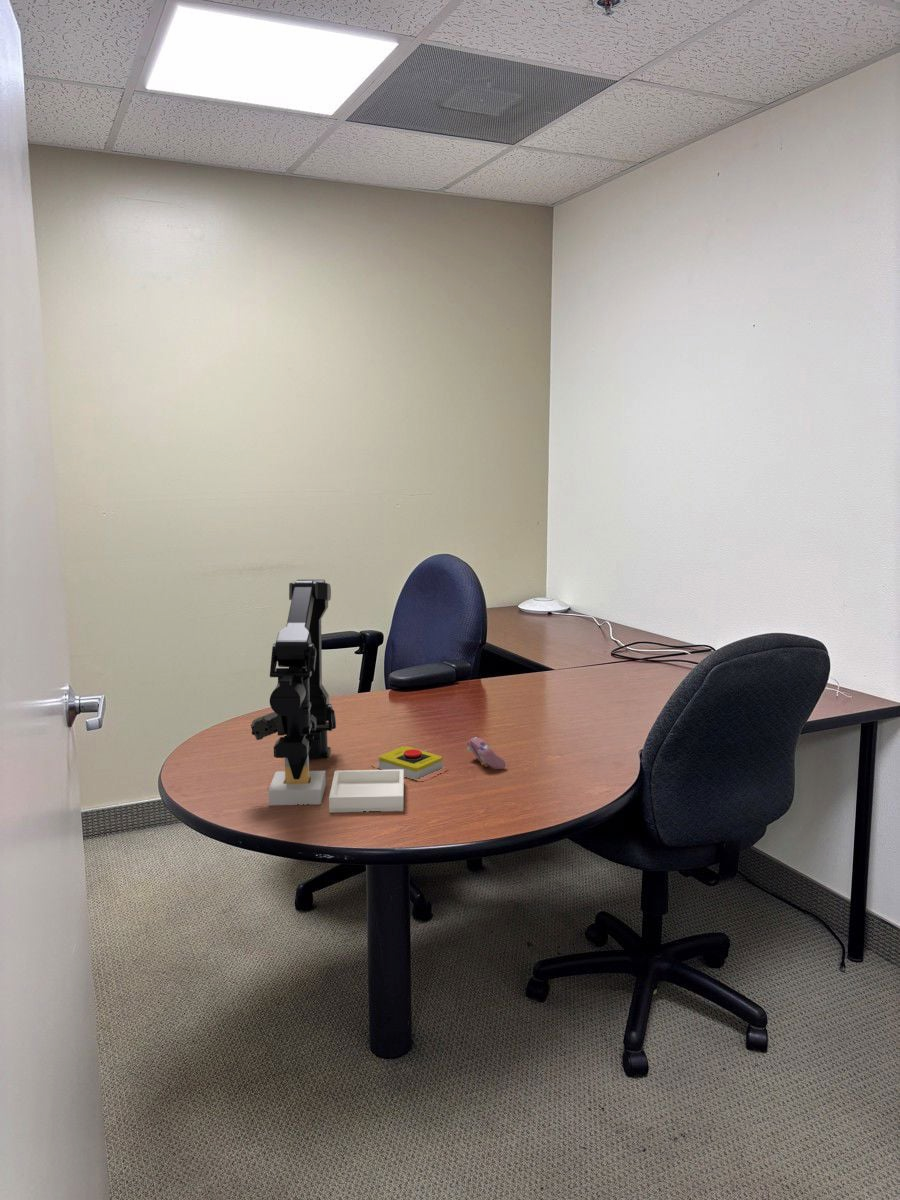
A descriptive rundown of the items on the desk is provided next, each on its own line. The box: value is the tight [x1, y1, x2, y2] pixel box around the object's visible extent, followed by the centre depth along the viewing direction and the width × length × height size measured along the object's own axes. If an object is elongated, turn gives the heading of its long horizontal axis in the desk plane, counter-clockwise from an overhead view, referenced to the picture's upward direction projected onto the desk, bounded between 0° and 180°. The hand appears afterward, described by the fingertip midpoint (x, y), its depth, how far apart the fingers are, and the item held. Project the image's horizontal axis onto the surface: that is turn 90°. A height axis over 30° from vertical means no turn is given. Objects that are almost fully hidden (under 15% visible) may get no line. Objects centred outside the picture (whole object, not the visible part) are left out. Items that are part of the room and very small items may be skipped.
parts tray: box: [328, 769, 405, 814], centre depth 174 cm, size 14×14×3 cm
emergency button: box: [378, 745, 444, 779], centre depth 189 cm, size 9×4×15 cm
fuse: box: [284, 754, 310, 784], centre depth 174 cm, size 2×4×8 cm, turn 93°
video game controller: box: [466, 736, 506, 770], centre depth 191 cm, size 10×5×7 cm, turn 21°
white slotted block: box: [267, 770, 326, 806], centre depth 175 cm, size 10×10×3 cm
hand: (297, 776), depth 174 cm, fingers closed on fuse, 2 cm apart
